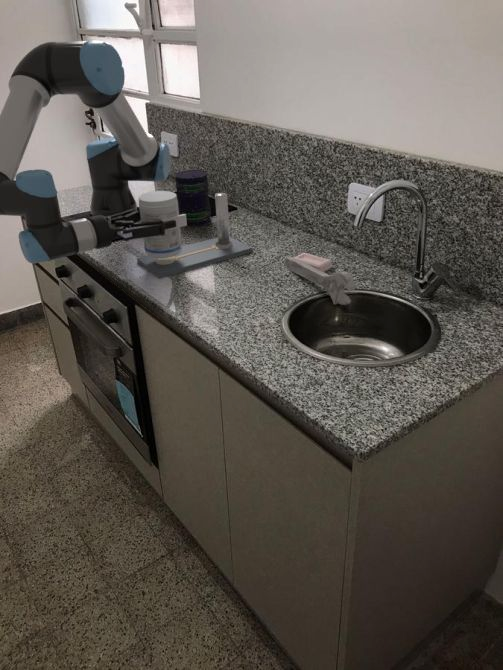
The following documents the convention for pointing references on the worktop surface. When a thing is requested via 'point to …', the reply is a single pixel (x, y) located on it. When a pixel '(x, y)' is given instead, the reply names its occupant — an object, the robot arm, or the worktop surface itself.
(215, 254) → the board
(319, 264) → the soap bar
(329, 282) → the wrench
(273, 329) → the worktop surface
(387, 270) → the worktop surface
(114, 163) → the robot arm
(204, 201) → the storage jar
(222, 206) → the steel pin
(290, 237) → the worktop surface
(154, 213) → the supplement tub
